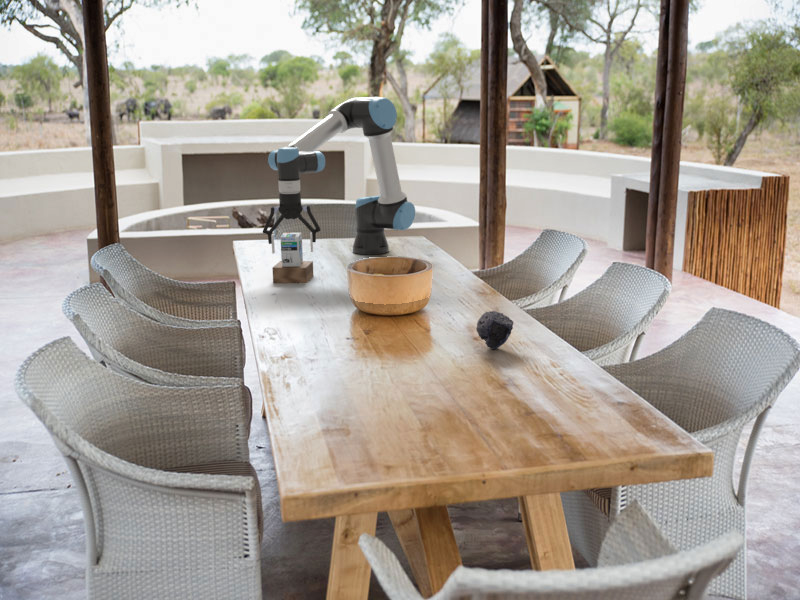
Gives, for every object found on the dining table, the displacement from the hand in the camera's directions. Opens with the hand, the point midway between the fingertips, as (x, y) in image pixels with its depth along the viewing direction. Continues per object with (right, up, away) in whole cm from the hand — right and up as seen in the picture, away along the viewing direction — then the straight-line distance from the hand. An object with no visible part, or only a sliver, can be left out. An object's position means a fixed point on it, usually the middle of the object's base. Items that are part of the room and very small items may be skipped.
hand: (292, 252), depth 297 cm
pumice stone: (+63, -30, -82) cm, 107 cm away
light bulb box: (0, -4, +1) cm, 5 cm away
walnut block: (0, -10, +2) cm, 10 cm away
